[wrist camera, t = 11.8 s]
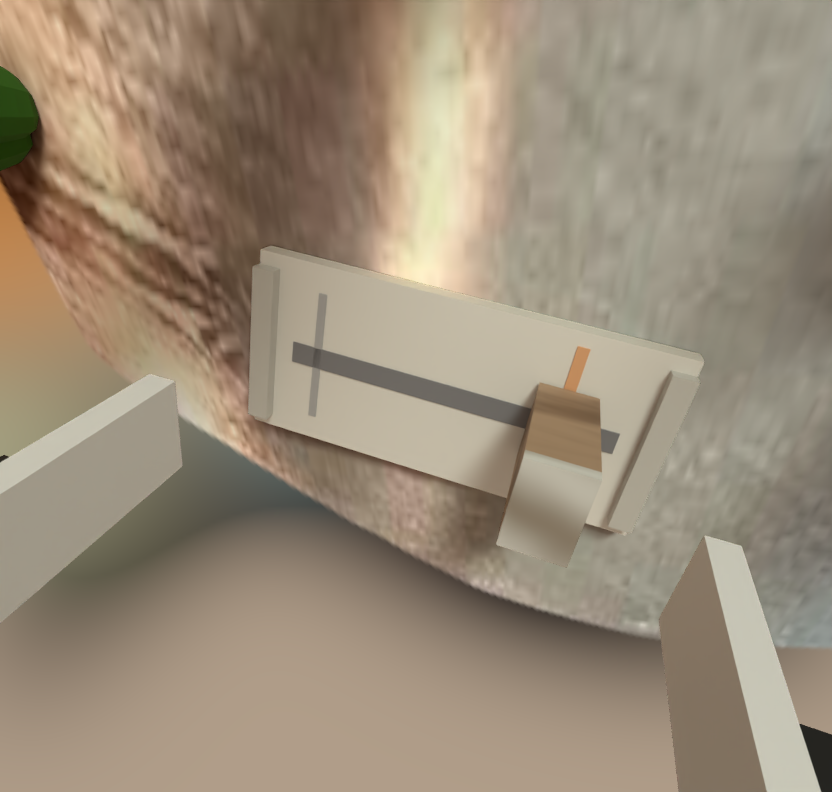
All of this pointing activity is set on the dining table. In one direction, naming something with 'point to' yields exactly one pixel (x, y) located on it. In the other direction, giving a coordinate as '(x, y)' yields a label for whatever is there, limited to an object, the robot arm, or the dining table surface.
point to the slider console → (453, 377)
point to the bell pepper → (15, 120)
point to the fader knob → (554, 476)
